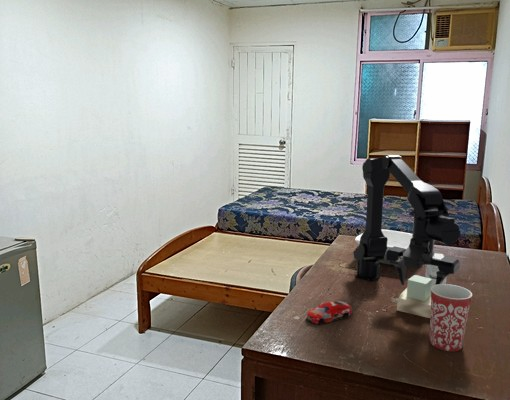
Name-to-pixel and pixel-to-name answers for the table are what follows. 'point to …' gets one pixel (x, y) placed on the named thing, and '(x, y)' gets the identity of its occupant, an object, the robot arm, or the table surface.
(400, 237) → the bowl
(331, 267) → the table surface
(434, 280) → the ink box
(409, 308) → the slab
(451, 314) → the mug
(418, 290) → the cube
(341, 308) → the race car
